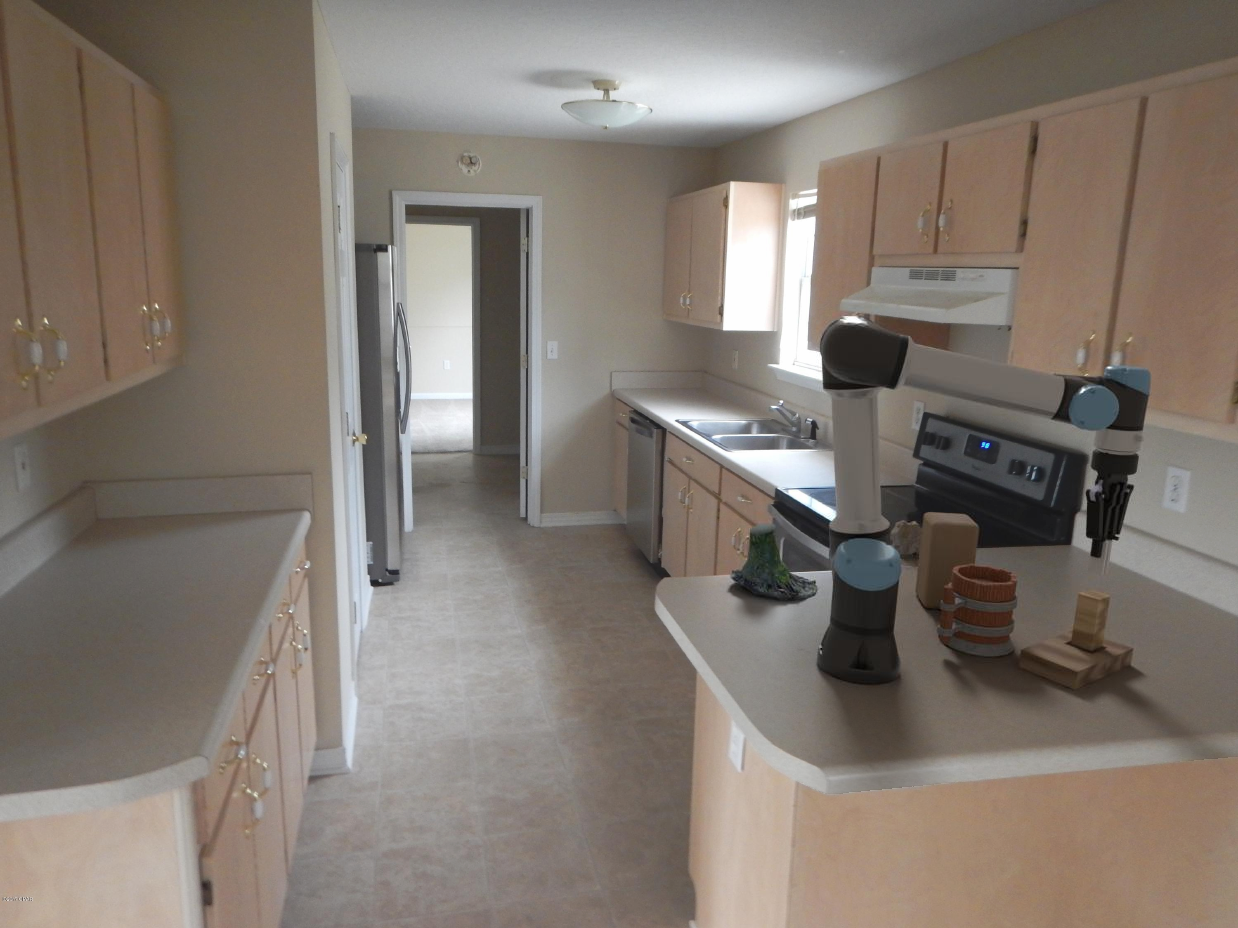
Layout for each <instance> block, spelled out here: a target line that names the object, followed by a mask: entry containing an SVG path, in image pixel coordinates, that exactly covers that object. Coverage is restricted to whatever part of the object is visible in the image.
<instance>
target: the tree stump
mask: <svg viewBox="0 0 1238 928" xmlns="http://www.w3.org/2000/svg"><path fill="white" fill-rule="evenodd" d="M776 529H777V526H776V524H774V523H769V522H767V523H766V522H765V523H760V524H757V525H754V526H753V527H751V528H750V529H749V530H750V531H749V538H748V539H749V541H748V543H749V544H748V550H747V551H748V552H747V558H746V561H745V563H744V564H743V566H742V569H739V568H738V569H736V570H731V574H730V575H729V577H730V579H731V580H733V582H735V583H737V584H738V585H741V586H742V587H744V588H746V589H747V590H749V591H750V592H751V593H752V594H753V595H755V596H760V597H764V598H767V599H774V600H778V601H797V600H805V599H807V598H809V597H814V596H815V595H816V593H817V591H818V586H817V585H816V584H817V581H816V579H815V580H811V579H808V578H805V577H804V576H800V575H797V574H795V573H792V572H790V571H789V570H788V566H787V565H786V564H785V563H784V562H783V561H782V559H781V556H780V551H779V545H778V541H777V534H776V533H777V531H776Z"/></svg>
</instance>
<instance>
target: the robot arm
mask: <svg viewBox="0 0 1238 928" xmlns="http://www.w3.org/2000/svg"><path fill="white" fill-rule="evenodd" d="M819 352H820V353H819V354H820V357H821V373H822V375H821V377H822V378H821V379H822V389H823V391H825V393H826V394H827V395H828V396H830V397H831V419H832V420H831V421H832V439H833V440H832V441H833V443H832V444H833V465H834V468H833V469H834V486H835V487H834V489H835V511H836V512H835V513H836V514H835V515H836V516H835V517H834V518H833V519H832V520H831V521H830V522H829V524H828V525H829V526H828V528H829V529H828V530H829V550H828V558H829V565H830V567H831V575H832V576H831V577H832V593H831V602H830V603H831V606H830V617H829V624H828V626H827V628H826V631H825V633H824V635H823V637H822V639H821V643H819V646H818V649H817V655H816V663H817V665H818V667H819V668H820V669H821V670H822V671H824V672H825V673H826V674H827V675H829V676H833V677H835V678H837V679H840V680H843V681H847V682H851V683H857V684H867V685H873V684H875V685H878V684H884V683H889V682H891V681H894V680H896V679H897V678H898V677H899V676H900V673H901V671H900V670H901V657H900V654H899V652H898V646H897V642H896V641H897V640H896V638H895V623H896V622H895V621H896V614H897V604H898V594H899V587H900V586H899V584H900V577H901V574H902V564H901V563H902V562H901V561H902V560H901V558H902V557H900V555H899V553H898V551H897V550H896V549H895V548H894V547H892V544H891V539H890V533H891V527H890V525H891V524H890V523H891V522H889V521H888V519H886V518H885V516H883V514H882V495H881V467H880V466H881V464H880V459H881V458H880V439H879V438H880V436H879V435H880V433H879V431H880V430H879V429H880V428H879V408H878V407H879V404H878V403H879V402H878V398H879V397H878V395H879V394H880V392H881V391H882V390H883V389H884V388H885V389H889V390H894V391H896V390H897V389H899V388H901V387H906V388H910V389H916V390H920V391H923V392H924V391H925V392H929V393H934V394H937V395H942V396H945V397H951V398H955V399H959V400H964V401H967V402H973V403H976V404H977V403H978V404H981V405H985V406H990V407H994V408H999V409H1003V410H1008V411H1013V412H1017V413H1019V414H1021V413H1022V414H1025V415H1029V416H1030V415H1031V416H1035V417H1037V418H1039V417H1040V418H1043V419H1047V420H1051V421H1055V422H1060V423H1064V424H1066V425H1067V424H1068V425H1071V426H1075V427H1076V428H1078V429H1081V430H1086V431H1090V432H1093V431H1095V435H1094V441H1093V446H1094V447H1095V449H1094V450H1093V451H1092V455H1091V462H1090V468H1091V469H1092V470H1093V471H1096V472H1097V474H1096V478H1095V481H1094V487H1093V488H1092V489H1089V488H1087V489H1086V490H1085V498H1086V521H1085V523H1086V524H1085V537H1086V538H1087V539H1091V546H1090V550H1089V551H1090V552H1089V559H1088V564H1087V565H1088V566H1087V572H1089V573H1092V574H1095V575H1099V576H1104V575H1107V574H1108V573H1109V565H1110V561H1111V552H1112V546H1113V541H1119V540H1120V537H1119V536H1120V535H1121V532H1122V529H1123V525H1124V522H1125V518H1126V517H1125V516H1126V513H1127V510H1128V506H1129V502H1130V497H1131V495H1132V494H1133V491H1134V488H1135V485H1134V484H1133V483H1132V484H1131V483H1129V482H1128V481H1129V476H1133V475H1135V474H1137V472H1138V471H1137V470H1138V465H1139V461H1140V460H1139V459H1140V455H1139V454H1138V453H1137V452H1140V450H1141V444H1142V442H1143V441H1144V440H1145V439H1144V436H1143V433H1144V425H1145V420H1146V414H1147V409H1148V403H1149V398H1150V396H1151V393H1150V392H1151V383H1152V382H1151V381H1152V380H1151V379H1152V373H1151V371H1150V370H1148V369H1147V368H1145V367H1139V366H1130V365H1108V366H1106V367H1105V369H1104V373H1103V375H1098V376H1089V375H1076V374H1074V375H1073V374H1071V375H1070V374H1061V373H1060V374H1056V372H1055V373H1048V372H1042V371H1039V370H1038V371H1037V370H1033V369H1030V368H1026V367H1021V366H1017V365H1011V364H1009V363H1008V364H1007V363H1004V362H999V361H994V360H989V359H984V358H980V357H977V356H972V355H967V354H963V353H958V352H953V351H950V350H946V349H945V350H944V349H941V348H935V347H931V346H926V345H924V344H918V343H916V342H914V340H913V339H912V337H911V336H910V335H905V334H901V333H897V332H895V331H891V330H888V329H886V328H883V327H882V326H880V325H877V324H876V323H875V322H874V321H873V320H871V319H870V318H867V317H866V316H863V315H851V314H850V315H848V316H845V315H844V316H841V317H839V318H837V319H835V320H834V321H832V322H830V324H828V326H827V327H826V328H825V330H824V331H823V332H822V334H821V338H820V341H819Z"/></svg>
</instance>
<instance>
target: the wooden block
mask: <svg viewBox="0 0 1238 928" xmlns="http://www.w3.org/2000/svg"><path fill="white" fill-rule="evenodd" d="M922 517H923V518H922V527H921V528H922V534H921V544H920V553H919V557H918V564H917V573H916V582H915V590H914V592H915V594H916V596H917V597H918V599H919V600H920V601H921V604H922V606H924V607H925V608H927V609H936V610H938V609H939V610H941V608H940V604H941V600H943V596H944V594H943V593H944V586H945V585H949V584H950V583H951V581H952V572H953V568H954V567H956V566H961V565H967V564H974V565H976V556H977V549H978V548H977V547H978V541H979V532H980V527H979V524H977V523H976V522H975V521H974V520H973V519H972V518H971V517H970V516H969V515H968V514H965V513H954V512H953V513H952V512H951V513H950V512H948V513H947V512H933V511H930V512H929V511H928V512H925V513H924V514H923V516H922Z"/></svg>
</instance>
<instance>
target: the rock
mask: <svg viewBox="0 0 1238 928" xmlns="http://www.w3.org/2000/svg"><path fill="white" fill-rule="evenodd" d="M894 525H895V526H893V529H891V530H890V541H892V544H891V546H892V547H894V548H895V549H896V550H897V551H898V553H899V555H900V558H903V557H905V556H907V555H911V554H912V555H913V556H914V557H916V558H919V553H920V544H921V534H922V527H921V526H920V524H919V523H918V522H917V521H916V520H913V521H911V522H907V521H906V520H900V521H897V522H896V523H894Z"/></svg>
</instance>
